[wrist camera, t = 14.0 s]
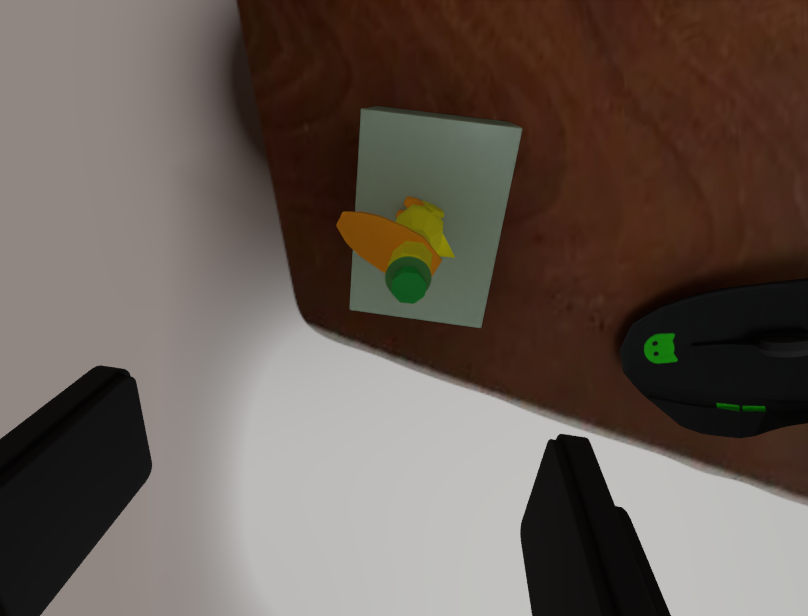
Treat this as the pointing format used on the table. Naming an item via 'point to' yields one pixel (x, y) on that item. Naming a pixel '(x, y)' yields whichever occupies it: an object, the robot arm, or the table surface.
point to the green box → (436, 203)
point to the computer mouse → (726, 358)
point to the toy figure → (400, 245)
